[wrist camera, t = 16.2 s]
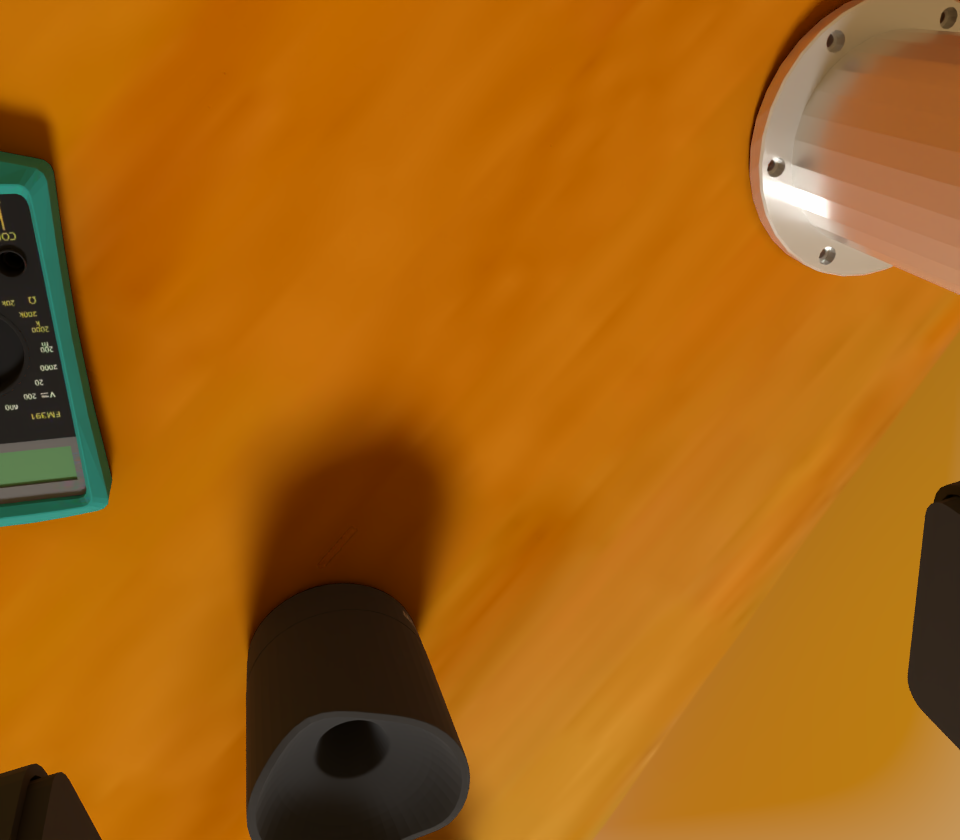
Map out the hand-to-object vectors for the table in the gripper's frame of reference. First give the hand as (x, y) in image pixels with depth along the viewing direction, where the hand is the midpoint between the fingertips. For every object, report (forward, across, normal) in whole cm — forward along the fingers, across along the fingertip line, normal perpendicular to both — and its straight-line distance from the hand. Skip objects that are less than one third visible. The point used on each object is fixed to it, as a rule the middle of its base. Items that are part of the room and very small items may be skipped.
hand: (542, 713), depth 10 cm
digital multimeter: (+31, +13, +4) cm, 34 cm away
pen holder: (+31, +4, +24) cm, 39 cm away
